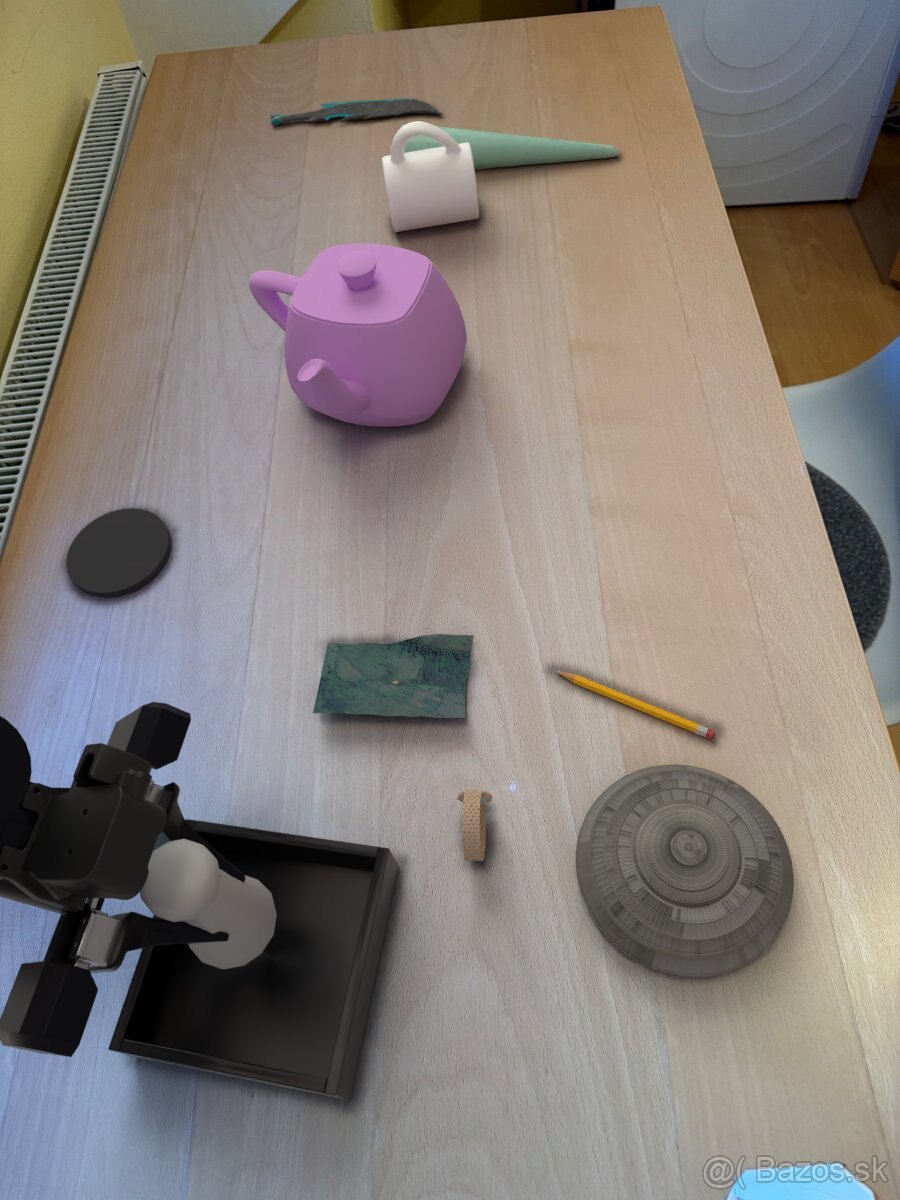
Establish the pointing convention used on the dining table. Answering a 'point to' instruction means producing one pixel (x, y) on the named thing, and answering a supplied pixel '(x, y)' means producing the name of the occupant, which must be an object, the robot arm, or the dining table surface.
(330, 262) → the teapot
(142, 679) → the dining table surface
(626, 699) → the pencil
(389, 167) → the mug
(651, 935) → the flying saucer
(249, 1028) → the tin
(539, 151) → the long green cone
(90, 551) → the disc
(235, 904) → the salt shaker
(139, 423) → the dining table surface
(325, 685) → the terrain model
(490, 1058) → the dining table surface
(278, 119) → the knife
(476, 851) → the perforated watch strap
